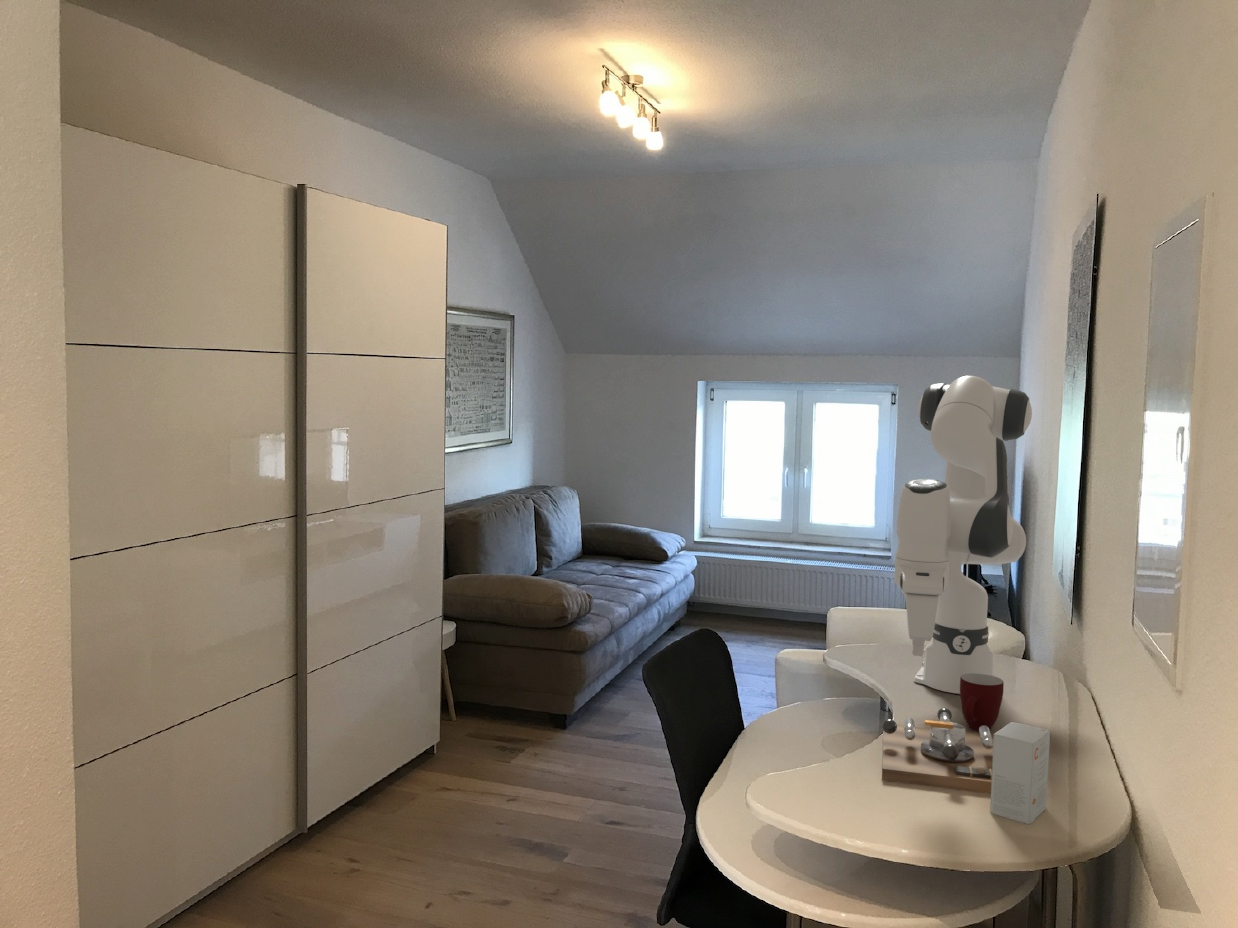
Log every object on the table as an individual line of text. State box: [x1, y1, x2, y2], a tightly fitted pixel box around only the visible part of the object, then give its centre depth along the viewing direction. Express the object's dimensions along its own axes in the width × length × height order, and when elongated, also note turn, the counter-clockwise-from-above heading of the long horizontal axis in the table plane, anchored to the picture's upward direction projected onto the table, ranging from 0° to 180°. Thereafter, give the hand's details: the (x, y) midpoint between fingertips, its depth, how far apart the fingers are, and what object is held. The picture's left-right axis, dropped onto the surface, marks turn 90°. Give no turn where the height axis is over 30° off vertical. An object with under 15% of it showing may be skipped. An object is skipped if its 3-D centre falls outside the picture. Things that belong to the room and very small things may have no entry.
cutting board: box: [881, 724, 994, 794], centre depth 178 cm, size 24×22×4 cm
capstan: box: [881, 707, 993, 763], centre depth 177 cm, size 23×23×5 cm
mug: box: [959, 673, 1005, 733], centre depth 195 cm, size 11×8×10 cm
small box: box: [989, 721, 1051, 825], centre depth 157 cm, size 8×6×13 cm
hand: (917, 653), depth 171 cm, fingers closed
